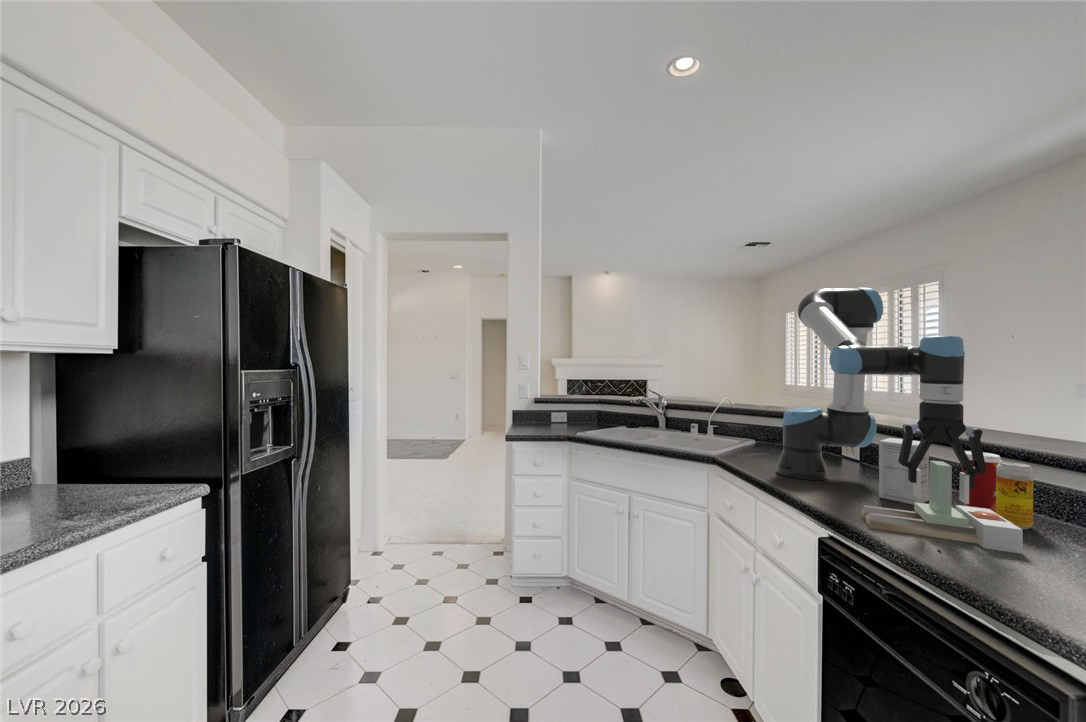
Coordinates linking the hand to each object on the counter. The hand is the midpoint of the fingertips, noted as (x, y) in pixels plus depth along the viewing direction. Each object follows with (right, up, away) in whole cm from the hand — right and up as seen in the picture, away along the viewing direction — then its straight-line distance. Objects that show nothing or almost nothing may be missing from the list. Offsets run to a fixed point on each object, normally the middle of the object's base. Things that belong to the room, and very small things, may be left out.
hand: (940, 499), depth 99 cm
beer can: (+22, -8, +4) cm, 24 cm away
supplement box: (+12, -8, +24) cm, 28 cm away
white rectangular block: (+7, -8, -4) cm, 11 cm away
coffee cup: (+26, -8, +16) cm, 32 cm away
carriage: (0, -5, 0) cm, 5 cm away
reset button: (+7, -6, -4) cm, 10 cm away
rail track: (-4, -8, +2) cm, 9 cm away
